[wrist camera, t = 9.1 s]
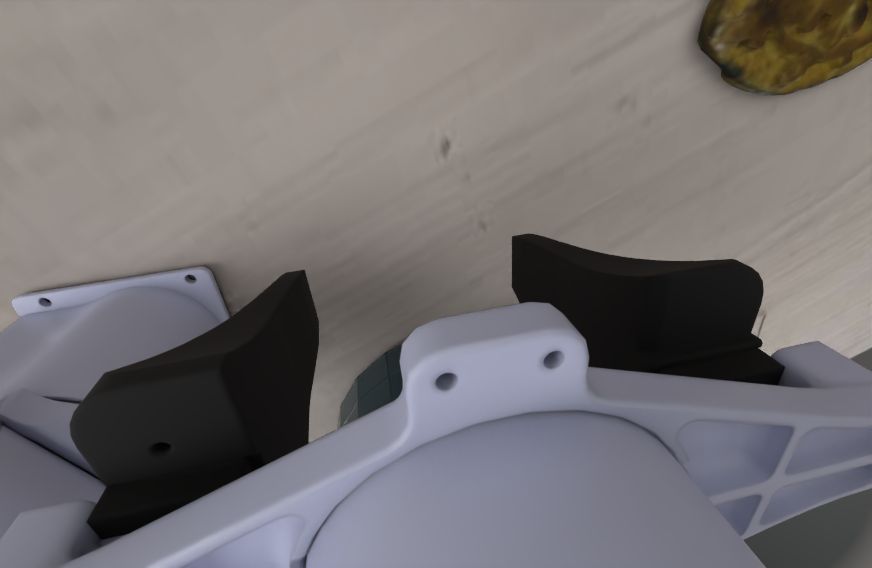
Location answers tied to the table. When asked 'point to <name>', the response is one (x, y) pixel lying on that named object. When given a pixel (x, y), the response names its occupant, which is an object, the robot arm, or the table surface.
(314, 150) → the table surface
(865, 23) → the seal
